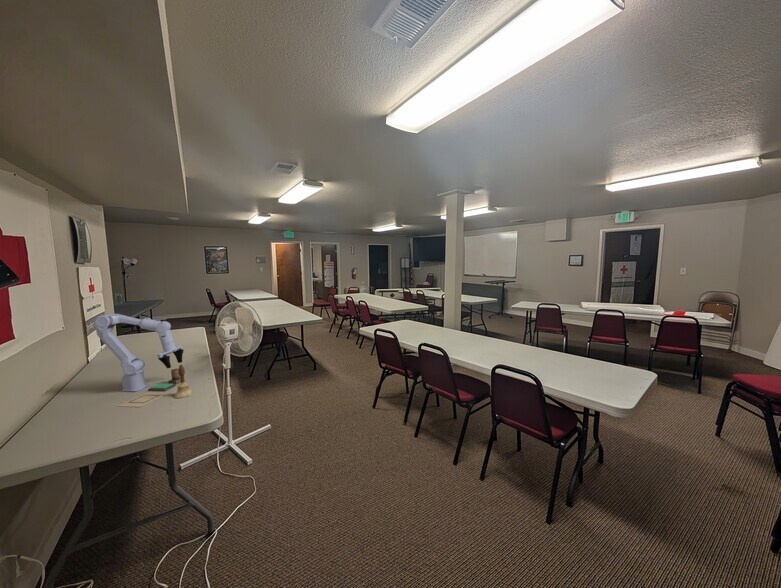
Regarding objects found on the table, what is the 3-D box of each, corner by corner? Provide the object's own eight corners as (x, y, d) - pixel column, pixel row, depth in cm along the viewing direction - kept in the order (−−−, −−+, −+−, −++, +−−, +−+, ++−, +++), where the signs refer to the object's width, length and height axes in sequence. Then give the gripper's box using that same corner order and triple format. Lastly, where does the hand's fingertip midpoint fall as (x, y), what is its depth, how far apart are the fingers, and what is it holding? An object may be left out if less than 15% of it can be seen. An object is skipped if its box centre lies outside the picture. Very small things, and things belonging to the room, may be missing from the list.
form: (116, 406, 142) (116, 405, 142) (148, 392, 158) (148, 391, 158) (140, 407, 140) (139, 406, 140) (169, 392, 156) (169, 392, 156)
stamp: (168, 384, 168) (167, 371, 167) (176, 380, 173) (174, 368, 172) (176, 384, 167) (174, 371, 167) (183, 381, 172) (182, 368, 171)
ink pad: (148, 390, 160) (148, 388, 160) (160, 385, 167) (159, 382, 166) (164, 391, 158) (164, 388, 158) (175, 385, 165) (175, 383, 165)
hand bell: (197, 391, 156) (194, 362, 155) (185, 398, 148) (181, 367, 147) (183, 391, 157) (179, 362, 156) (169, 398, 149) (166, 367, 147)
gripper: (162, 346, 159) (169, 369, 161) (184, 337, 173) (190, 359, 175) (151, 347, 160) (158, 371, 162) (174, 339, 174) (180, 360, 176)
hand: (174, 365), depth 168 cm, fingers open, 7 cm apart
